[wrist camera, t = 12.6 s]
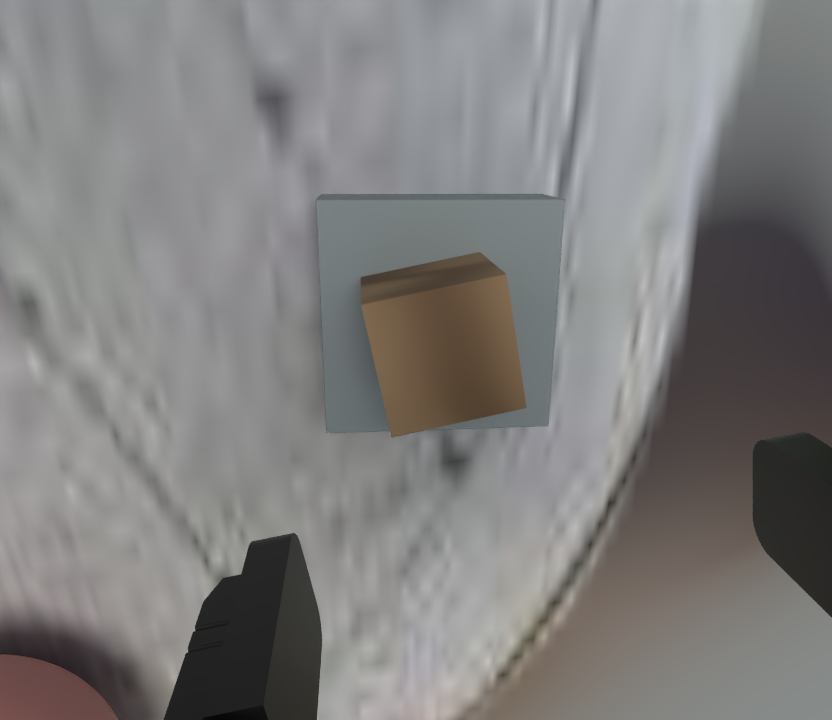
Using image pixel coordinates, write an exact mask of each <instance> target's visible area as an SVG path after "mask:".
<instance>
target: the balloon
mask: <svg viewBox="0 0 832 720" xmlns="http://www.w3.org/2000/svg"><path fill="white" fill-rule="evenodd" d="M0 720H118V718H117V716H116V714H115V713H114V711H113V710H112V709H111V707H110V706H109V705H108V703H107V702H106V701H105V700H104V698H103V697H102V696H101V695H100V694H99V693H98V692H97V691H96V690H95V689H94V688H93V687H91V686H90V685H89V684H88V683H87V682H85V681H84V680H82V679H81V678H80V677H78V676H76V675H75V674H73V673H71V672H70V671H68V670H66V669H64V668H62V667H59V666H57V665H54V664H52V663H49V662H46V661H43V660H39V659H35V658H30V657H25V656H18V655H7V654H0Z"/></svg>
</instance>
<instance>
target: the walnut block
mask: <svg viewBox="0 0 832 720" xmlns="http://www.w3.org/2000/svg"><path fill="white" fill-rule="evenodd" d="M361 307H362V311H363V315H364V320H365V324H366V328H367V333H368V337H369V341H370V346H371V350H372V354H373V359H374V363H375V367H376V372H377V376H378V380H379V385H380V389H381V393H382V398H383V402H384V406H385V411H386V415H387V419H388V424H389V428H390V432H391V437H396V436H400V435H405V434H410V433H414V432H419V431H424V430H428V429H433V428H437V427H442V426H447V425H451V424H456V423H460V422H465V421H470V420H474V419H479V418H483V417H488V416H493V415H497V414H502V413H506V412H511V411H516V410H520V409H525V408H527V406H526V400H525V393H524V387H523V380H522V373H521V367H520V360H519V354H518V347H517V341H516V334H515V327H514V321H513V314H512V308H511V301H510V295H509V288H508V281H507V275H506V273H505V272H503V271H502V270H501V269H500V268H498V267H497V266H496V265H495V264H494V263H492V262H491V261H490V260H489V259H488V258H486V257H485V256H484V255H483V254H482V253H480V252H477V253H472V254H468V255H463V256H458V257H453V258H449V259H444V260H439V261H435V262H430V263H425V264H420V265H416V266H411V267H406V268H402V269H397V270H392V271H387V272H383V273H378V274H373V275H369V276H364V277H361Z"/></svg>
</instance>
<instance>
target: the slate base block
mask: <svg viewBox="0 0 832 720" xmlns="http://www.w3.org/2000/svg"><path fill="white" fill-rule="evenodd" d="M564 205H565V199H561V198H556V197H552V196H548V195H543V194H321V195H320V196H319V198H318V199H317V200H316V209H317V232H318V254H319V277H320V299H321V322H322V345H323V367H324V390H325V413H326V433H346V432H377V431H390V428H389V424H388V419H387V415H386V411H385V406H384V402H383V398H382V393H381V389H380V385H379V380H378V376H377V372H376V367H375V363H374V359H373V354H372V350H371V346H370V341H369V337H368V333H367V328H366V324H365V320H364V315H363V311H362V307H361V277H364V276H369V275H373V274H378V273H383V272H387V271H392V270H397V269H402V268H406V267H411V266H416V265H420V264H425V263H430V262H435V261H439V260H444V259H449V258H453V257H458V256H463V255H468V254H472V253H477V252H480V253H482V254H483V255H484V256H485V257H486V258H488V259H489V260H490V261H491V262H492V263H494V264H495V265H496V266H497V267H498V268H500V269H501V270H502V271H503V272H505V273H506V275H507V281H508V288H509V295H510V301H511V308H512V314H513V321H514V327H515V334H516V341H517V347H518V354H519V360H520V367H521V373H522V380H523V387H524V393H525V400H526V406H527V408H525V409H520V410H516V411H511V412H506V413H502V414H497V415H493V416H488V417H483V418H479V419H474V420H470V421H465V422H460V423H456V424H451V425H447V426H442V427H437V428H433V429H428V430H440V429H471V428H503V427H534V426H548V424H549V410H550V397H551V383H552V369H553V356H554V342H555V328H556V315H557V301H558V287H559V274H560V260H561V246H562V232H563V219H564Z"/></svg>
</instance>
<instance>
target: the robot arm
mask: <svg viewBox="0 0 832 720" xmlns="http://www.w3.org/2000/svg"><path fill="white" fill-rule="evenodd" d="M753 523H754V527H755V531H756V534H757V537H758V539H759V541H760V543H761V545H762V547H763V548H764V550H765V551H766V553H767V554H768V555H769V556H770V557H771V558H772V559H773V560H774V561H775V562H776V563H777V564H778V565H779V566H780V567H781V568H782V569H783V570H784V571H785V572H786V573H787V574H788V575H789V576H790V577H791V578H792V579H793V580H794V581H795V582H796V583H798V585H799V586H800V587H801V588H802V589H803V590H804V591H805V592H806V593H808V595H809V596H810V597H812V599H813V600H815V601H816V602H817V603H818V604H819V605H820V606H821V607H822V608H823V609H824V610H825V611H826V612H827V613H828V614H829V615H830V616H831V617H832V448H831V447H830V446H828V445H827V444H825V443H823V442H822V441H820V440H819V439H817V438H816V437H814V436H812V435H811V434H809V433H806V432H799V433H795V434H790V435H785V436H780V437H775V438H770V439H765V440H760V441H758V442H757V443H756V445H755V447H754V451H753ZM321 650H322V632H321V622H320V616H319V611H318V606H317V602H316V599H315V595H314V591H313V588H312V584H311V581H310V577H309V573H308V570H307V566H306V562H305V559H304V555H303V552H302V548H301V544H300V541H299V539H298V537H297V535H296V534H295V533H292V534H287V535H282V536H277V537H272V538H267V539H262V540H257V541H252V542H251V543H250V545H249V548H248V552H247V555H246V559H245V563H244V567H243V570H242V574H241V575H236V576H231V577H226V578H223V579H222V580H221V581H220V582H219V584H218V585H217V586H216V587H215V588H214V590H213V591H212V592H211V593H210V595H209V596H208V597H207V598H206V599H205V601H204V602H203V605H202V608H201V611H200V614H199V616H198V619H197V622H196V625H195V632H193V634H192V637H191V640H190V643H189V646H188V653H186V655H185V658H184V661H183V664H182V667H181V670H180V673H179V676H178V679H177V682H176V685H175V688H174V691H173V694H172V696H171V699H170V702H169V705H168V708H167V711H166V714H165V717H164V720H317V707H318V693H319V679H320V665H321Z"/></svg>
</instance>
